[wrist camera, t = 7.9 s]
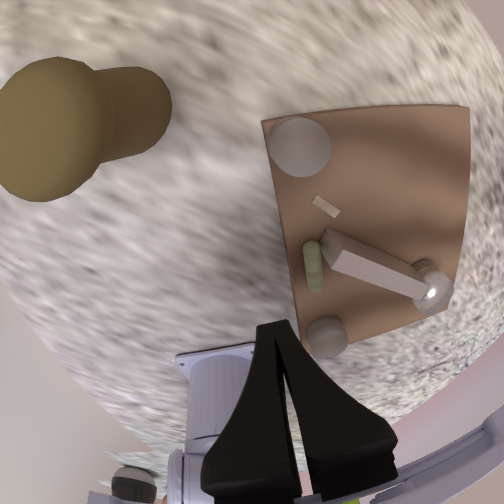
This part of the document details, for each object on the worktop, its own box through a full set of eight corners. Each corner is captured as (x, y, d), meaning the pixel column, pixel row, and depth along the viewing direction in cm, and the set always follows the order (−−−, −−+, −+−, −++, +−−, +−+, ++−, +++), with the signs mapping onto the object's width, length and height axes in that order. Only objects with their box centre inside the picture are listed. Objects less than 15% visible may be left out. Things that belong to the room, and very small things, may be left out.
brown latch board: (440, 300, 26) (456, 321, 23) (299, 344, 27) (307, 372, 24) (456, 104, 16) (486, 110, 13) (258, 119, 17) (266, 124, 14)
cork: (171, 59, 14) (99, 13, 5) (174, 151, 17) (113, 221, 8) (83, 76, 14) (-39, 79, 4) (89, 161, 17) (-17, 235, 7)
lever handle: (441, 266, 22) (460, 285, 19) (419, 297, 23) (435, 319, 20) (335, 213, 18) (352, 233, 16) (310, 258, 20) (322, 283, 17)
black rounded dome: (163, 478, 49) (162, 532, 36) (123, 473, 49) (119, 525, 35) (150, 466, 44) (147, 528, 31) (106, 460, 43) (99, 518, 30)
